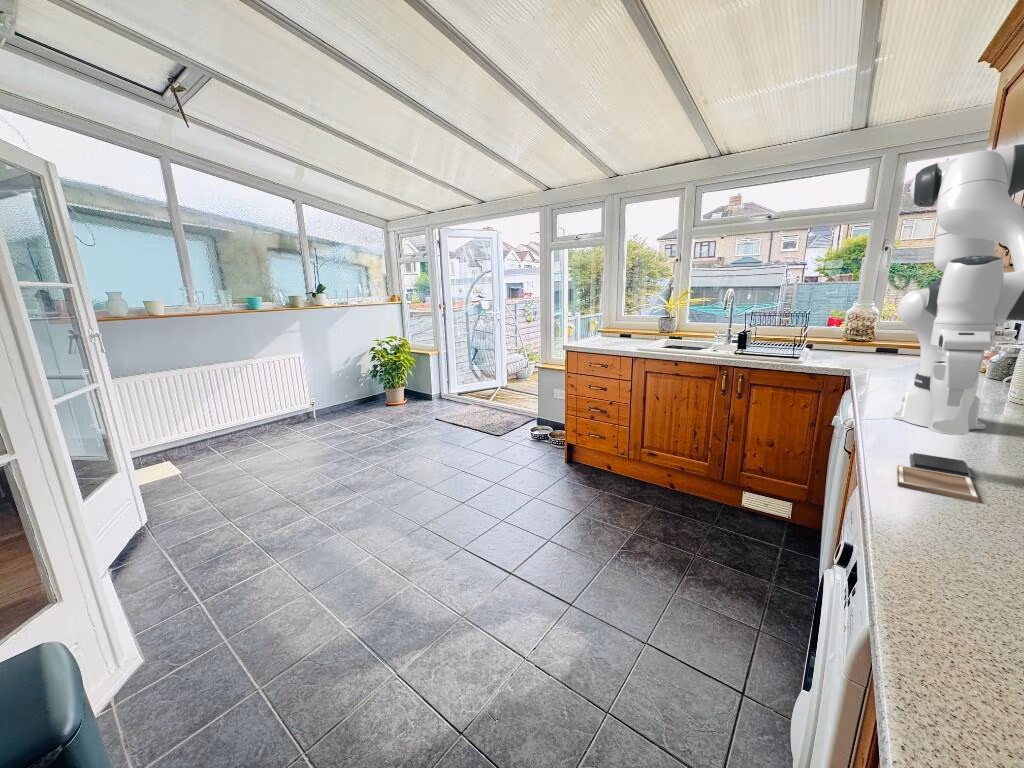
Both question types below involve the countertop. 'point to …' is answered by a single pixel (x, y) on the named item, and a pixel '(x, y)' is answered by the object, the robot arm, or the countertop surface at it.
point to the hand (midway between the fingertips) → (950, 402)
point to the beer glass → (942, 414)
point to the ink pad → (940, 464)
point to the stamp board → (936, 482)
